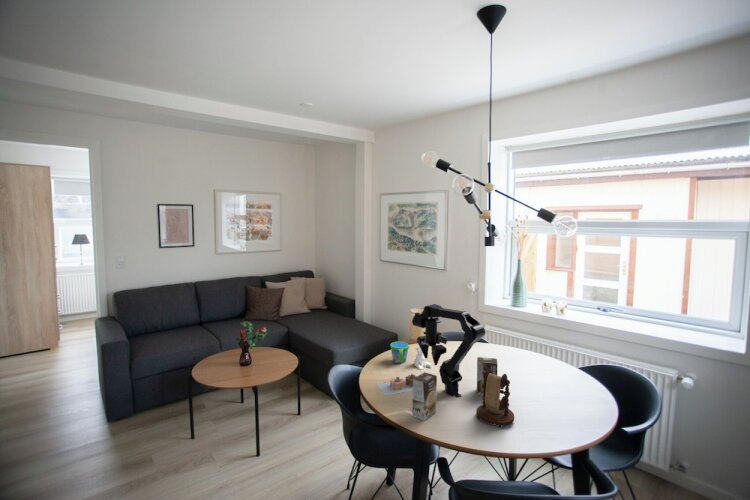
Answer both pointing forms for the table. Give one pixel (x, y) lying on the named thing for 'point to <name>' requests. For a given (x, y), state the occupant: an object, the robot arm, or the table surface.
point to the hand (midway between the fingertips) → (430, 361)
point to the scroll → (495, 400)
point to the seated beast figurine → (421, 360)
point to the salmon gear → (397, 384)
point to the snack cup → (399, 352)
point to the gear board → (389, 391)
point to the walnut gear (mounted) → (410, 379)
